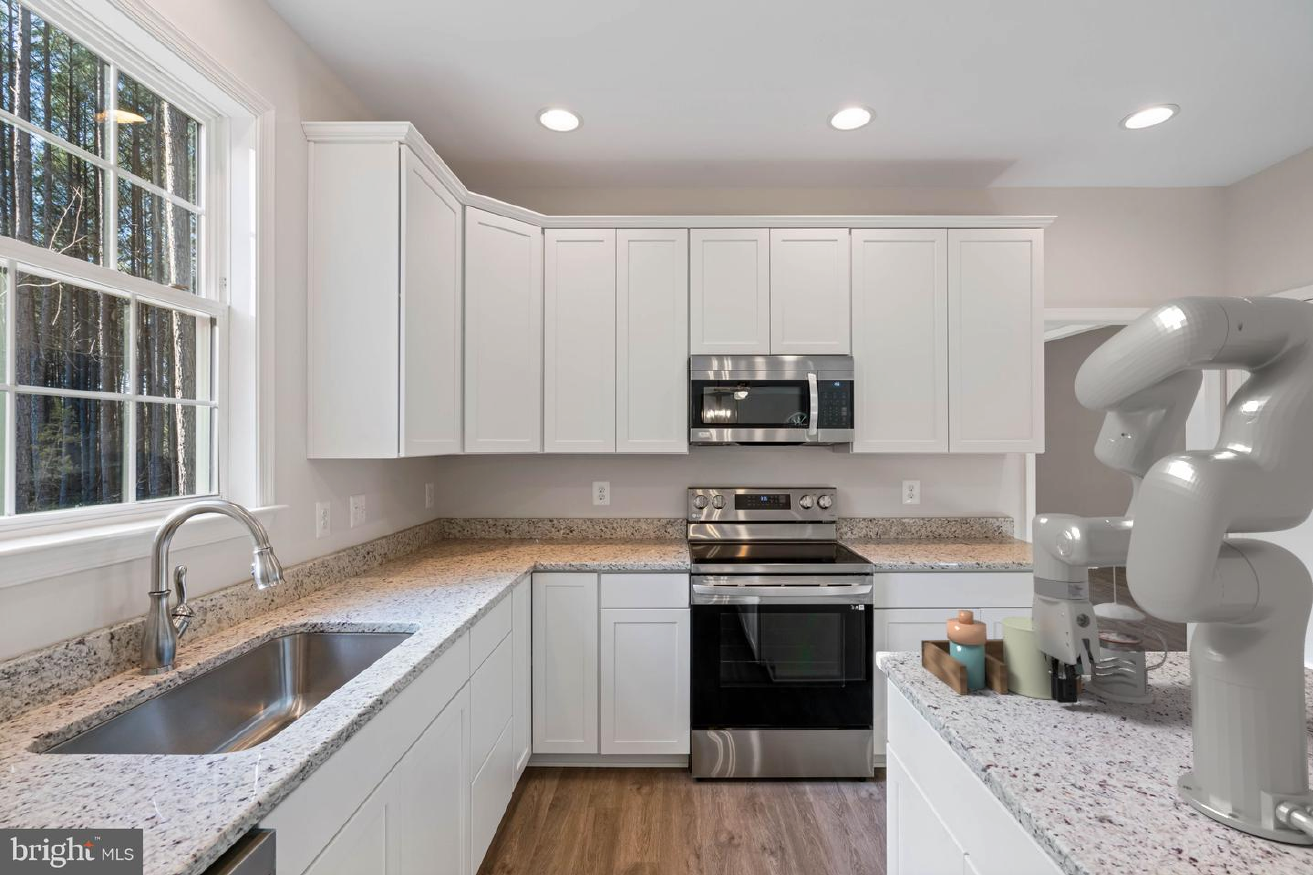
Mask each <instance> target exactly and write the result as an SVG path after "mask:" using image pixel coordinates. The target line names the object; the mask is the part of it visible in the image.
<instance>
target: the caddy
mask: <svg viewBox="0 0 1313 875" xmlns="http://www.w3.org/2000/svg"><path fill="white" fill-rule="evenodd" d="M920 643H921V646H920V647H921V648H920V649H921V667H923V668H924V669H925V670H927V671H928V672H929V673H930V674H932V675H933V676H934V677H936V678H937V679H939V681H941V682H942V683H944V684H945V685H946V686H947V687H949V688H950V689H952V690H953V691H954V692H956V693H957V694H958V695H959V696H967V695H968V689H967V667H966V665H964V664H963V663H961V662H960V661H958V660H957V659H955V658H954V657H952V656H950V640H949V639H940V640H939V639H937V640H936V639H935V640H934V639H931V640H925V639H924V640H923V639H922V640H921V641H920ZM984 649H985V685H986V686H988V688H990V689H992V690H993V691H995V692H996V693H998V694H1000V695H1008V689H1007V665H1005V664H1004V658H1003V638H993V639H992V638H990V639H987V643H985V644H984ZM1068 666H1072V665H1068ZM1082 682H1083V681H1082V675H1080V677H1079V679H1077V694H1081V693H1083V689H1082V688H1083V687H1082V686H1083V683H1082Z"/></svg>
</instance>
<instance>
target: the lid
mask: <svg viewBox="0 0 1313 875" xmlns="http://www.w3.org/2000/svg"><path fill="white" fill-rule="evenodd" d="M957 613H958V617H953V618H951V617H950V618H948V619H947V620H946V637H947V640H951V641H954V642H957V643H961V644H968V645H982V644H985V643H987V637H988V636H987V634H988V633H987V624H986V623H985V622H984V621H982V620H978V619H974V611H971V610H967V609H960V610H958V612H957Z"/></svg>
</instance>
